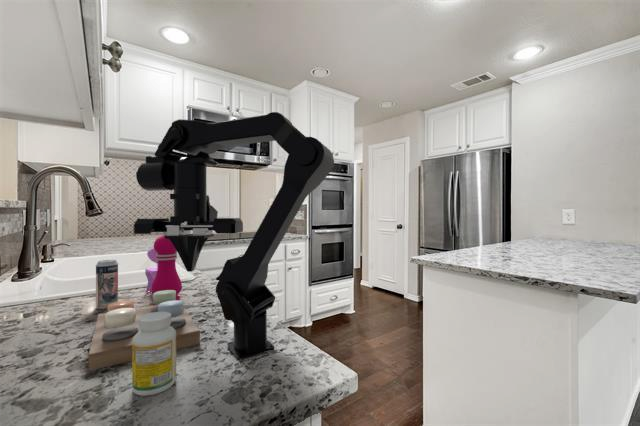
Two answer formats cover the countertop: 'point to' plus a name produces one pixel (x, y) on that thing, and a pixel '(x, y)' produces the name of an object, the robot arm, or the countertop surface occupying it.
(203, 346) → the countertop surface
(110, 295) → the beer can
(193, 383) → the countertop surface
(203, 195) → the robot arm
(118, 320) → the cream button
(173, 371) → the supplement bottle
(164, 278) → the pepper mill
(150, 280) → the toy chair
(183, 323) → the wooden button board
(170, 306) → the slate blue button
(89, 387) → the countertop surface
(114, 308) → the terracotta button
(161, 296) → the sage button
